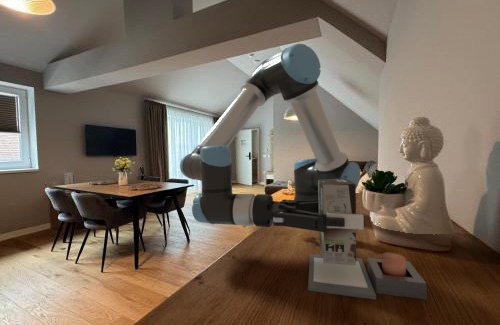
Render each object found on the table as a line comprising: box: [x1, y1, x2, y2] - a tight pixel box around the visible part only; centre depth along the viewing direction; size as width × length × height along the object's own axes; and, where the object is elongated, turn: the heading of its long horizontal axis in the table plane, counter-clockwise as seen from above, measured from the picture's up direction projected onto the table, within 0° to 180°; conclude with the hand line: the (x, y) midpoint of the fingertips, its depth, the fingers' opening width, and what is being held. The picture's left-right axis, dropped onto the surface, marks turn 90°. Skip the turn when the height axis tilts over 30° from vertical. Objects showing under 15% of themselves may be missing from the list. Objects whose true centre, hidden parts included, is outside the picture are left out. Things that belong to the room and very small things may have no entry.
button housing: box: [366, 257, 428, 300], centre depth 45 cm, size 8×8×3 cm
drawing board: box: [307, 253, 377, 301], centre depth 49 cm, size 14×12×1 cm
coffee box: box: [318, 179, 357, 265], centre depth 48 cm, size 9×6×16 cm
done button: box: [381, 252, 407, 277], centre depth 45 cm, size 4×4×4 cm
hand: (358, 214), depth 47 cm, fingers closed on coffee box, 9 cm apart
